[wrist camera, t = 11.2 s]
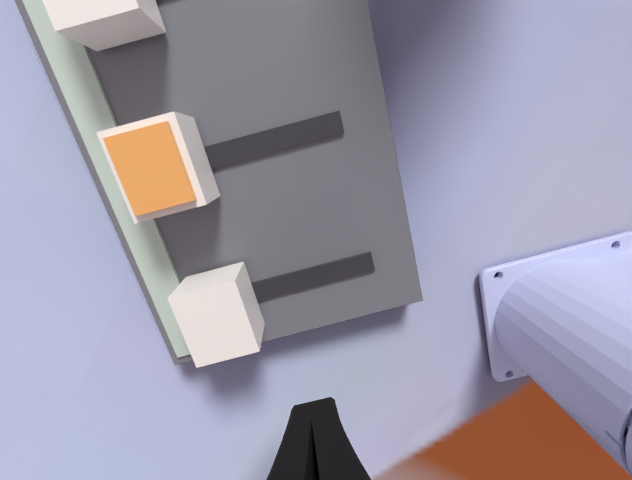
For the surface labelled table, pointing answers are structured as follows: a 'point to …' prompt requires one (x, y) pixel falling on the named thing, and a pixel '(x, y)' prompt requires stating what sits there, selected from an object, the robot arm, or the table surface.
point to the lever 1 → (105, 21)
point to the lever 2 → (218, 314)
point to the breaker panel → (254, 154)
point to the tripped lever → (160, 165)
